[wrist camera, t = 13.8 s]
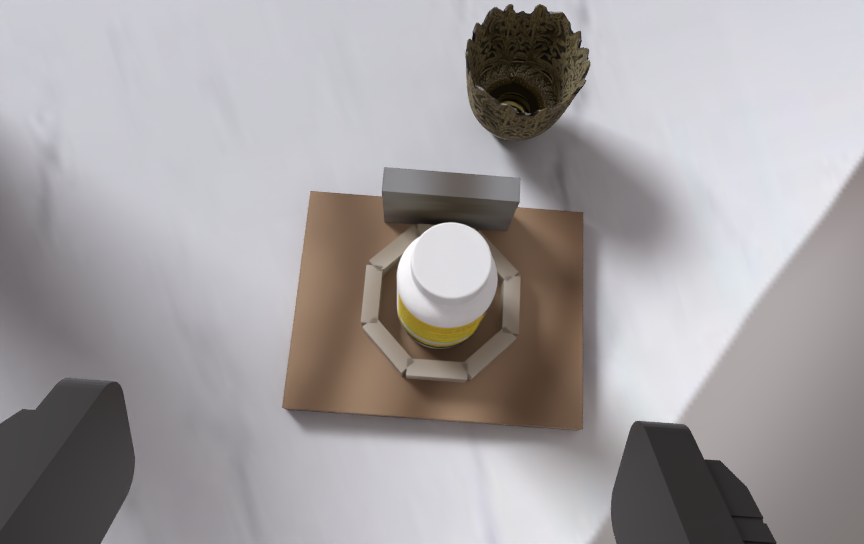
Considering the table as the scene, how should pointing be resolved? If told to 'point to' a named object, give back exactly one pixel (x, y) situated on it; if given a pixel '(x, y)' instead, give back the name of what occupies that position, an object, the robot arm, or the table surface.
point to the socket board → (419, 365)
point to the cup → (523, 71)
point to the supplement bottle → (445, 285)
